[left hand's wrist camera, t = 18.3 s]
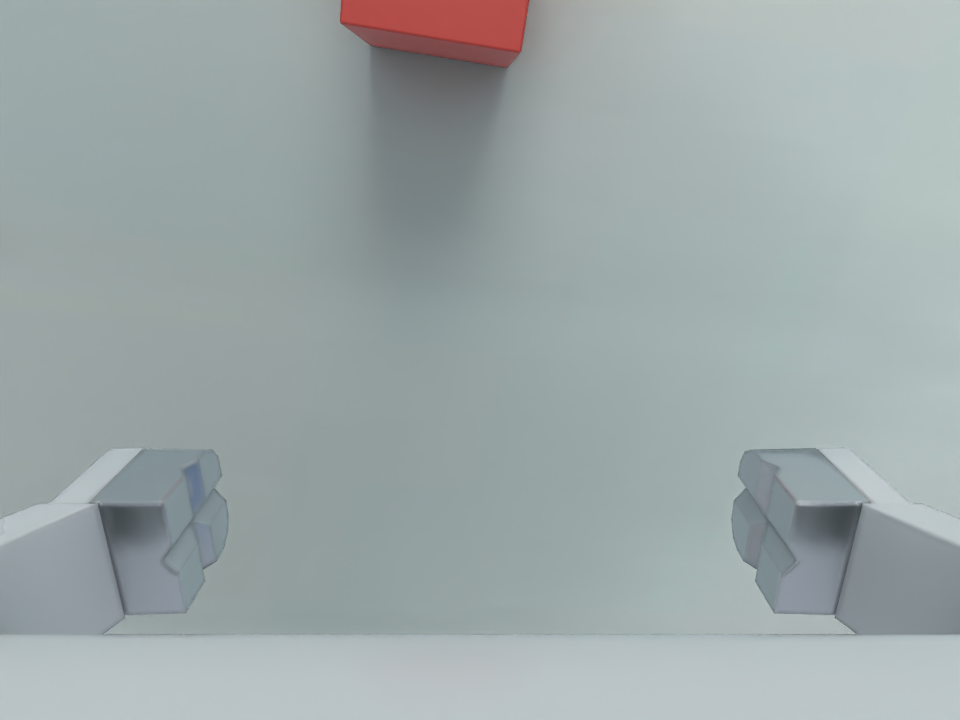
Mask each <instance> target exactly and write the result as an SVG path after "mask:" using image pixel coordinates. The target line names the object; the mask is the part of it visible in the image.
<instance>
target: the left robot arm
mask: <svg viewBox="0 0 960 720" xmlns="http://www.w3.org/2000/svg"><path fill="white" fill-rule="evenodd" d="M221 477H222V472H221V467H220V462H219V457H218V456H217V454H216V453H215V452H214V451H213V450H208V449H154V448H150V449H147V448H118V449H109V450H108V451H107V452H106V453H105V454H103V455H102V456H101V457H100V458H99V459H98V460H97V461H96V462H95V463H93V464H92V465H91V466H90V467H89V468H88V469H87V470H86V471H85V472H83V473H82V474H81V475H80V476H79V477H78V478H77V479H76V480H75V481H73V482H72V483H71V484H70V485H69V486H68V487H67V488H66V489H65V490H63V491H62V492H61V493H60V494H59V495H58V496H57V497H56V498H55V499H53V500H52V501H51V502H50V503H41V504H36V505H33V506H31V507H28V508H26V509H23V510H21V511H18V512H15V513H13V514H10V515H8V516H5V517H3V518H0V720H960V518H957V517H955V516H952V515H949V514H947V513H944V512H942V511H939V510H937V509H934V508H932V507H929V506H927V505H924V504H919V503H910V502H909V501H908V500H907V499H906V498H904V497H903V496H902V495H901V494H900V493H899V492H898V491H897V490H896V489H894V488H893V487H892V486H891V485H890V484H889V483H888V482H887V481H886V480H885V479H883V478H882V477H881V476H880V475H879V474H878V473H877V472H876V471H875V470H873V469H872V468H871V467H870V466H869V465H868V464H867V463H866V462H865V461H863V460H862V459H861V458H860V457H859V456H858V455H857V454H856V453H855V452H854V451H852V450H850V449H846V448H822V449H816V448H803V449H761V450H749V451H745V452H744V454H743V456H742V459H741V461H740V466H739V472H738V477H739V478H740V480H741V481H742V483H743V484H744V486H745V487H746V488H745V489H744V490H743V492H742V493H741V494H740V495H739V496H738V497H737V498H736V499H735V500H734V503H733V511H732V519H731V520H732V531H733V538H734V542H735V545H736V548H737V551H738V552H739V554H740V556H741V558H742V560H743V561H744V562H746V563H747V564H749V565H751V566H752V567H754V568H755V569H757V573H756V579H755V582H756V584H757V585H758V587H759V589H760V590H761V592H762V594H763V595H764V597H765V599H766V600H767V602H768V604H769V605H770V607H771V609H772V610H773V612H774V613H780V614H817V615H835V618H836V619H837V620H839V621H840V622H841V623H843V624H844V625H846V626H847V627H848V628H850V629H851V630H852V631H854V632H855V633H856V634H104V633H105V632H107V631H108V630H109V629H111V628H112V627H113V626H115V625H116V624H117V623H119V622H120V621H122V620H123V619H124V618H125V615H142V614H178V613H186V612H187V611H188V609H189V607H190V606H191V604H192V602H193V600H194V599H195V597H196V595H197V594H198V592H199V590H200V589H201V587H202V585H203V584H204V582H205V579H204V573H203V569H205V568H206V567H208V566H209V565H211V564H213V563H214V562H216V561H217V560H218V558H219V556H220V554H221V552H222V550H223V549H224V545H225V541H226V537H227V532H228V509H227V503H226V500H225V499H224V498H223V497H222V496H221V495H220V494H219V493H218V492H217V490H216V489H215V488H214V487H215V486H216V484H217V483H218V481H219V480H220V478H221Z"/></svg>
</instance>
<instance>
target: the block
mask: <svg viewBox="0 0 960 720" xmlns="http://www.w3.org/2000/svg"><path fill="white" fill-rule="evenodd" d="M528 5H529V0H341V13H340V22H341V24H343V25H344V26H345V27H347V28H348V29H349V30H351V31H352V32H353V33H355V34H356V35H357V36H359V37H360V38H361V39H363V40H364V41H365V42H367V43H368V44H369V45H371V46H375V47H382V48H388V49H394V50H400V51H406V52H412V53H419V54H425V55H431V56H437V57H443V58H449V59H455V60H462V61H468V62H474V63H480V64H486V65H492V66H498V67H505V68H507V67H509V65H510V64H511V63H512V62H513V61H514V60H515V58H516V57H517V56H518V55H519V54H520V52H521V51H522V44H523V38H524V31H525V24H526V18H527V11H528Z"/></svg>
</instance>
